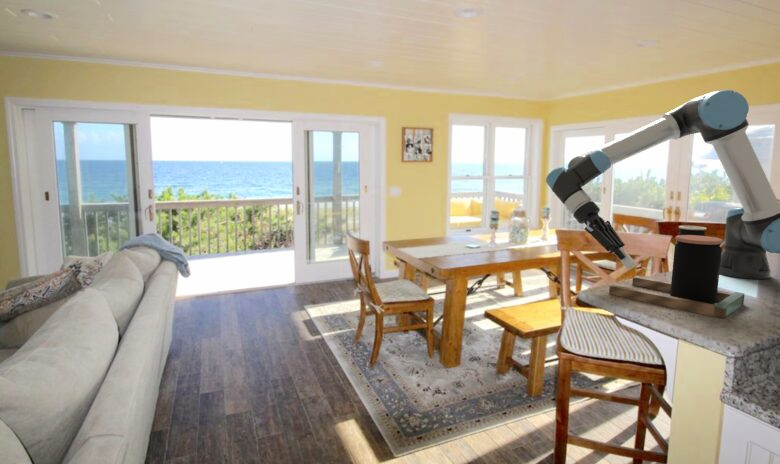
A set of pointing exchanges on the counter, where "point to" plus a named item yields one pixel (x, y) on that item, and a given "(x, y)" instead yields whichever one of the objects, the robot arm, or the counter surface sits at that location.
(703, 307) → the bay
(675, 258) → the coffee jar
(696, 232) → the travel mug
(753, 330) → the counter surface
